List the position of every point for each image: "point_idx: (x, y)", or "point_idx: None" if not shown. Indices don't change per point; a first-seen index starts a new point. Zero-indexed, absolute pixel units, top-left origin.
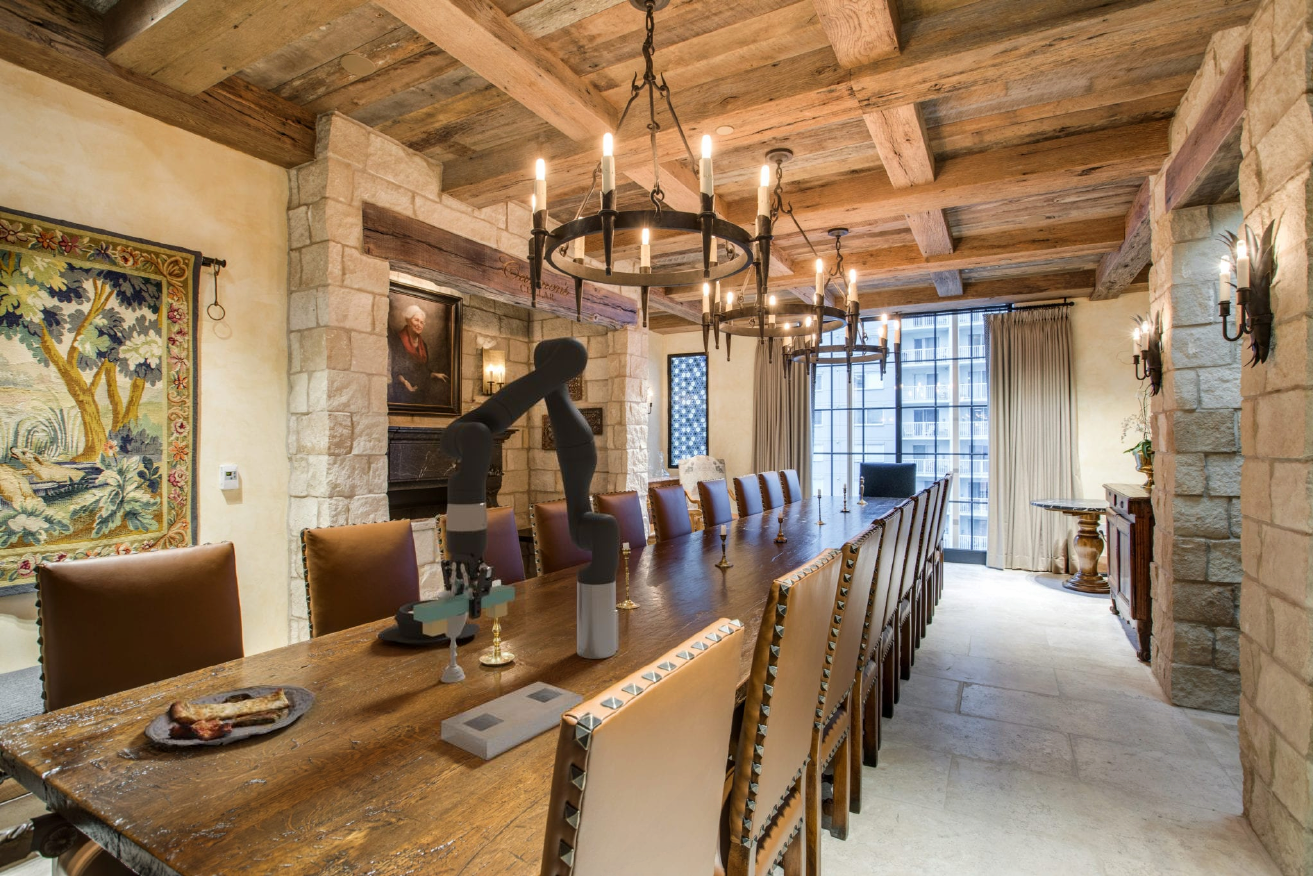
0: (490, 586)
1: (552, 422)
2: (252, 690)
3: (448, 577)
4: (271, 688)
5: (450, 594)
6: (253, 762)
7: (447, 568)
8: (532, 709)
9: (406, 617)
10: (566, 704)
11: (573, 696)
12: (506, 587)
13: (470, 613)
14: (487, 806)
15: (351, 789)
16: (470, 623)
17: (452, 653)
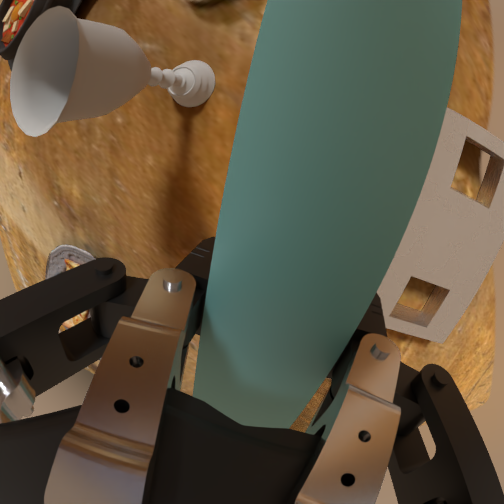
0: (470, 421)
1: None
2: (51, 264)
3: (70, 368)
4: (55, 256)
5: (29, 54)
6: (190, 370)
7: (32, 410)
8: (479, 240)
9: (10, 51)
10: None
11: None
12: (406, 3)
13: None
14: (455, 379)
15: (320, 392)
16: None
17: (165, 82)
